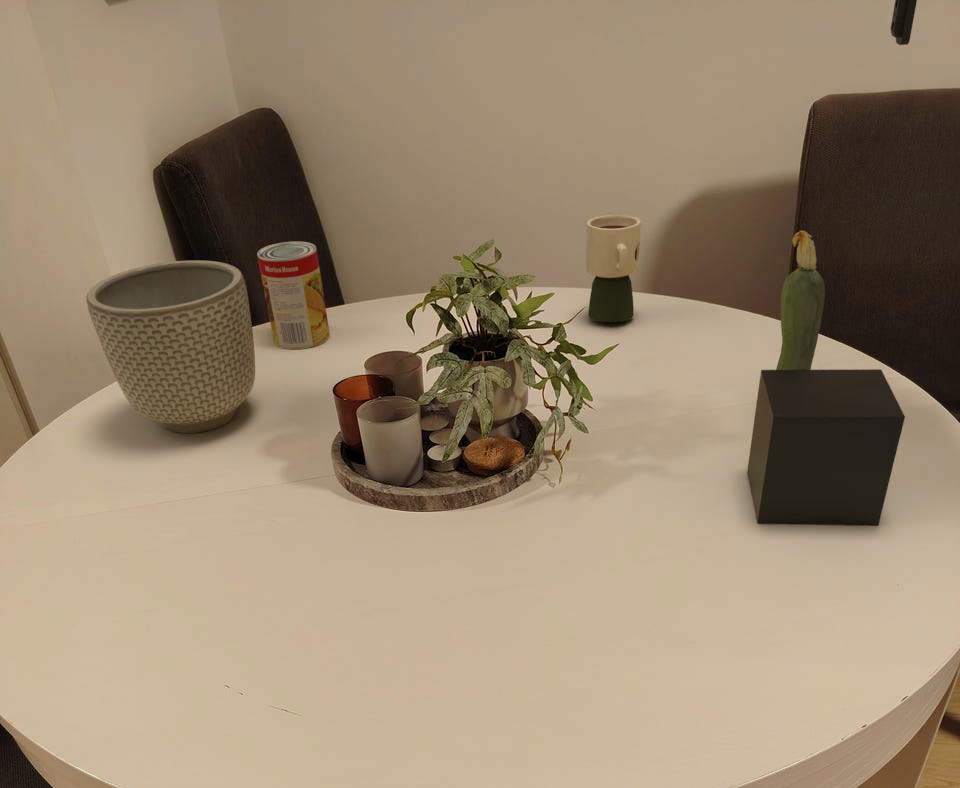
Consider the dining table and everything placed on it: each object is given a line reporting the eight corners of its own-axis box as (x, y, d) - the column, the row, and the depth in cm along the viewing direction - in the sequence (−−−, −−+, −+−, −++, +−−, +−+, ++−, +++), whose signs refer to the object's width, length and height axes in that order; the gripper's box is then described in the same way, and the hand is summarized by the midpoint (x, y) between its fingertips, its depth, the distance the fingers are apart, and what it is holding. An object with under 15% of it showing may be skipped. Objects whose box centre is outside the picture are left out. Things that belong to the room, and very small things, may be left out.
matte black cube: (855, 464, 97) (877, 361, 90) (878, 525, 88) (905, 416, 81) (745, 463, 99) (759, 362, 92) (757, 523, 90) (773, 416, 83)
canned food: (331, 326, 136) (318, 239, 129) (328, 347, 130) (314, 257, 123) (277, 330, 136) (260, 243, 129) (271, 351, 130) (253, 261, 123)
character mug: (647, 330, 128) (652, 230, 120) (595, 336, 128) (598, 236, 120) (624, 303, 137) (628, 208, 129) (576, 309, 136) (577, 213, 128)
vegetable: (806, 409, 108) (838, 224, 95) (802, 426, 104) (835, 237, 92) (766, 405, 109) (792, 222, 96) (761, 422, 106) (788, 235, 93)
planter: (109, 413, 117) (66, 282, 107) (239, 376, 124) (210, 249, 114) (153, 466, 105) (110, 324, 95) (294, 421, 112) (268, 285, 102)
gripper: (918, -197, 72) (877, 52, 82) (1121, -216, 70) (1053, 41, 80) (896, -192, 78) (860, 40, 88) (1083, -209, 76) (1024, 30, 86)
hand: (952, 40), depth 84 cm, fingers open, 8 cm apart
